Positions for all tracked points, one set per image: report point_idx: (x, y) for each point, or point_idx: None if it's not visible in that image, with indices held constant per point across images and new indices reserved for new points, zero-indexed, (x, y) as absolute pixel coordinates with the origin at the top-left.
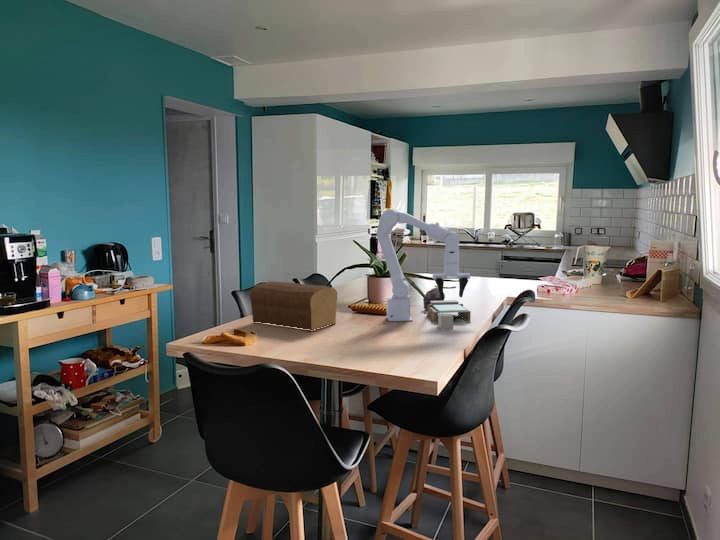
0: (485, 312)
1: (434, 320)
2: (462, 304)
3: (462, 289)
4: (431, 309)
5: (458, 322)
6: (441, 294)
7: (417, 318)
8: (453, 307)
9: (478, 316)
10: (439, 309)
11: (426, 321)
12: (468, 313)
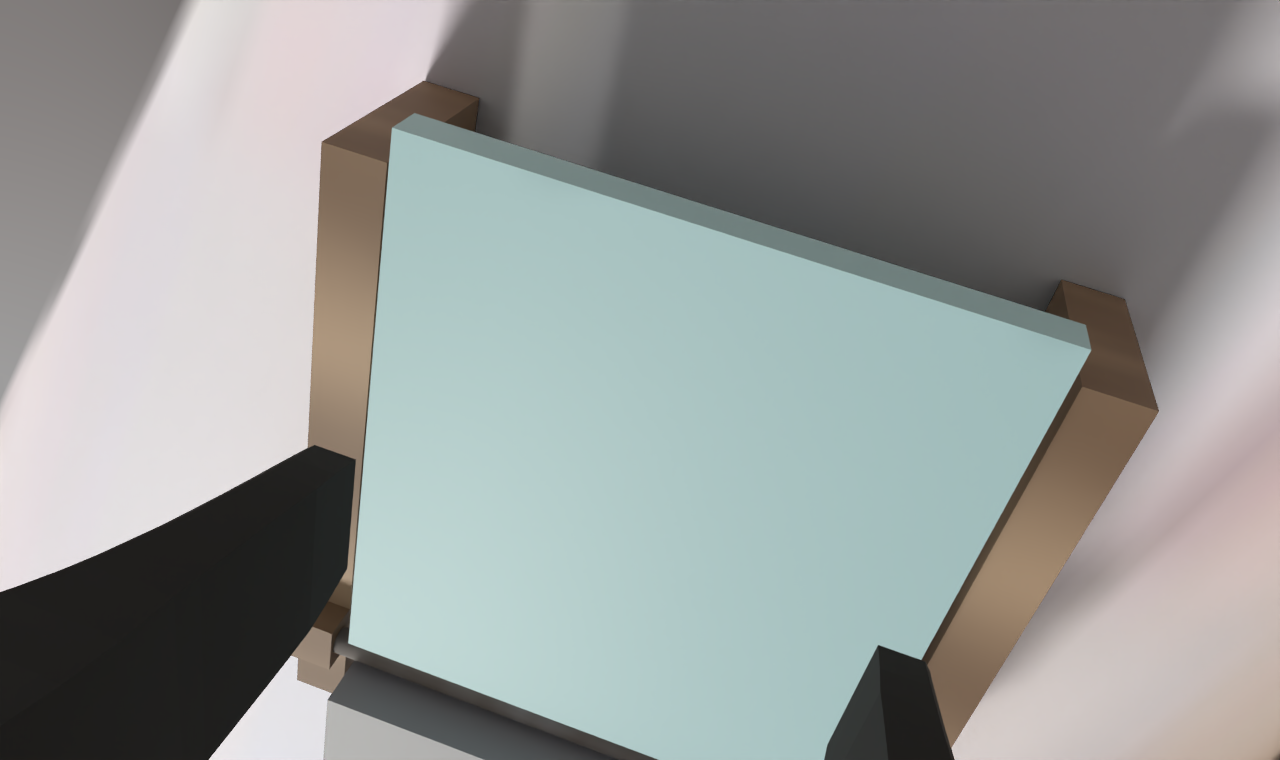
0: (24, 501)
1: (1125, 327)
2: None
3: (160, 573)
4: (1003, 660)
5: (669, 110)
6: (944, 733)
7: (1176, 681)
8: (566, 489)
9: (174, 352)
10: (982, 465)
11: (1201, 445)
12: (386, 143)
